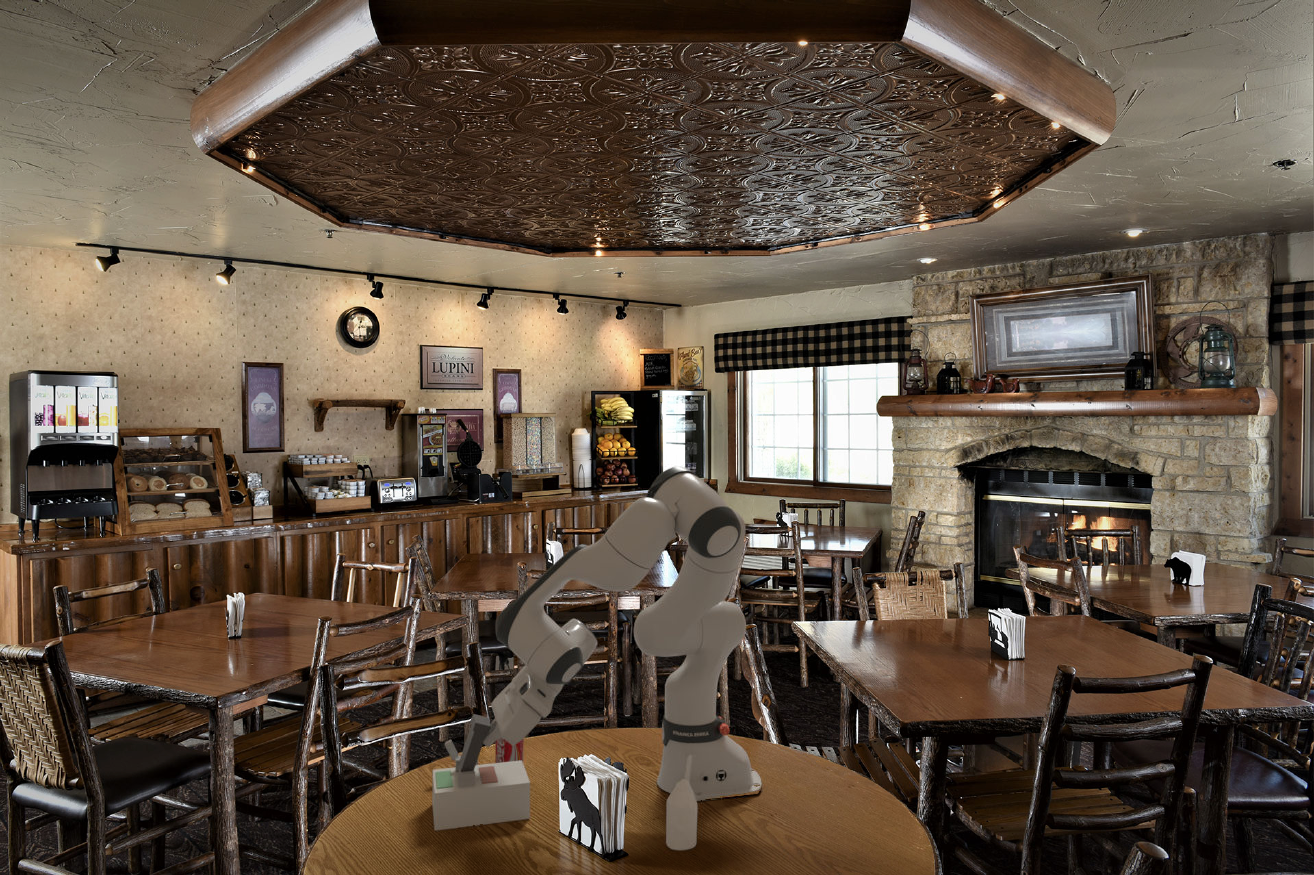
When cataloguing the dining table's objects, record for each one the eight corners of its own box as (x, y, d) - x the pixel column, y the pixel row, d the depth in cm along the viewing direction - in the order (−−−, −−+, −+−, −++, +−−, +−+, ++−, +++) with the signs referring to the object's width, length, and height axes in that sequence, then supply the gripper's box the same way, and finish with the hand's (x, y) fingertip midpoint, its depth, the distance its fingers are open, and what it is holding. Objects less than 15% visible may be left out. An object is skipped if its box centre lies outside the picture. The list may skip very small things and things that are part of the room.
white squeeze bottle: (681, 769, 156) (704, 777, 152) (681, 833, 156) (704, 843, 152) (659, 778, 151) (682, 786, 148) (659, 844, 151) (682, 854, 147)
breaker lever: (469, 772, 167) (488, 717, 168) (472, 782, 161) (491, 726, 163) (454, 768, 166) (473, 713, 167) (456, 779, 161) (475, 722, 162)
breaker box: (521, 794, 173) (521, 748, 173) (529, 818, 161) (530, 770, 162) (432, 804, 168) (432, 757, 168) (434, 830, 156) (434, 780, 156)
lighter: (477, 773, 184) (478, 737, 184) (477, 777, 182) (477, 740, 182) (445, 775, 182) (445, 739, 183) (444, 779, 181) (444, 742, 181)
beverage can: (489, 769, 186) (489, 716, 186) (509, 761, 191) (509, 709, 191) (509, 776, 182) (509, 721, 182) (529, 767, 187) (529, 714, 188)
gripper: (515, 665, 177) (469, 716, 174) (529, 694, 157) (477, 751, 155) (536, 684, 178) (490, 734, 175) (552, 714, 159) (501, 772, 156)
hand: (484, 742), depth 165 cm, fingers closed, pressing on breaker lever
